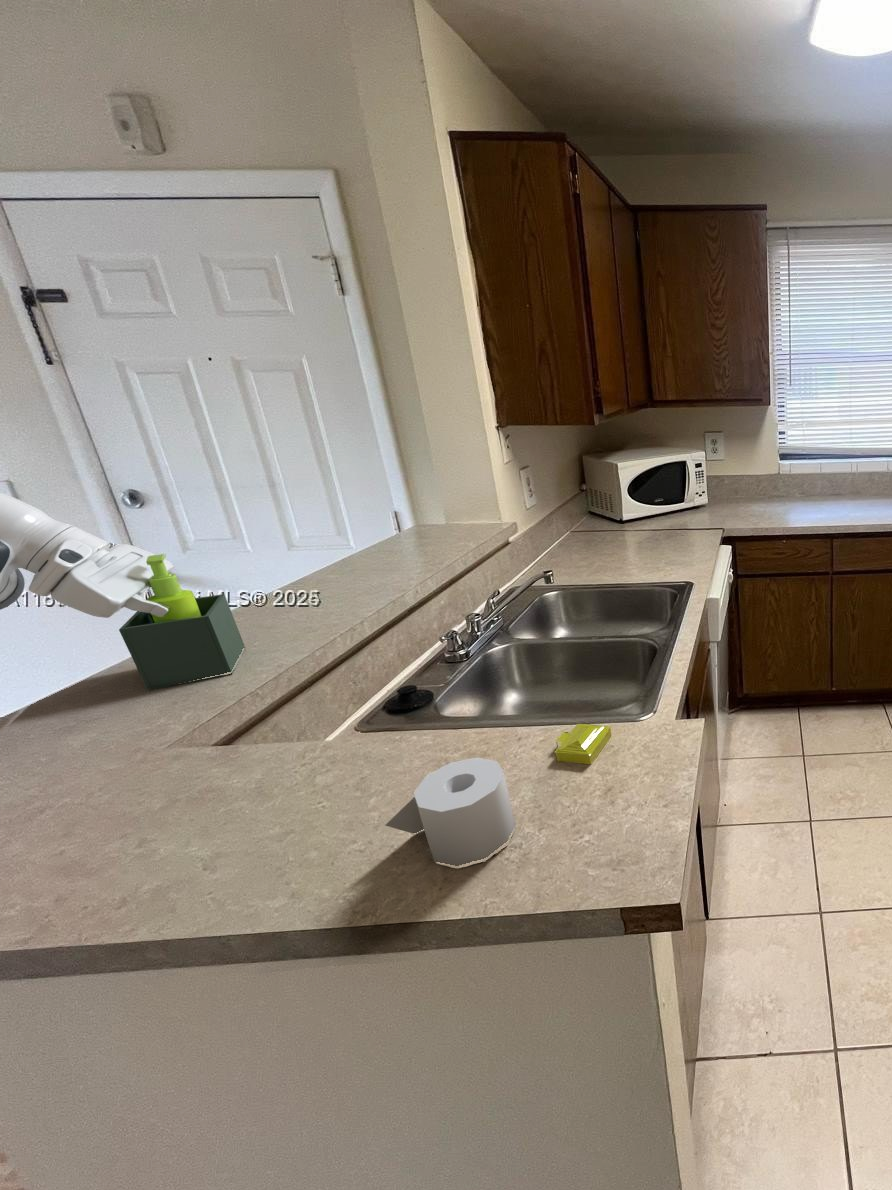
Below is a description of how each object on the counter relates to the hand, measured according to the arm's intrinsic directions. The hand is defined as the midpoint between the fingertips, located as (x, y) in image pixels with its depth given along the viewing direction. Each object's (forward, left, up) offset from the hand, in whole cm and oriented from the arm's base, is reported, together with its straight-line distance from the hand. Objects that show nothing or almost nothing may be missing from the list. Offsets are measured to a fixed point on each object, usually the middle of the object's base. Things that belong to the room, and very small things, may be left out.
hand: (176, 604), depth 107 cm
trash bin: (0, 0, -13) cm, 13 cm away
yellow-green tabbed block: (+55, -58, -13) cm, 81 cm away
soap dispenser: (-1, 0, -12) cm, 12 cm away
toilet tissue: (+39, -69, -13) cm, 80 cm away
